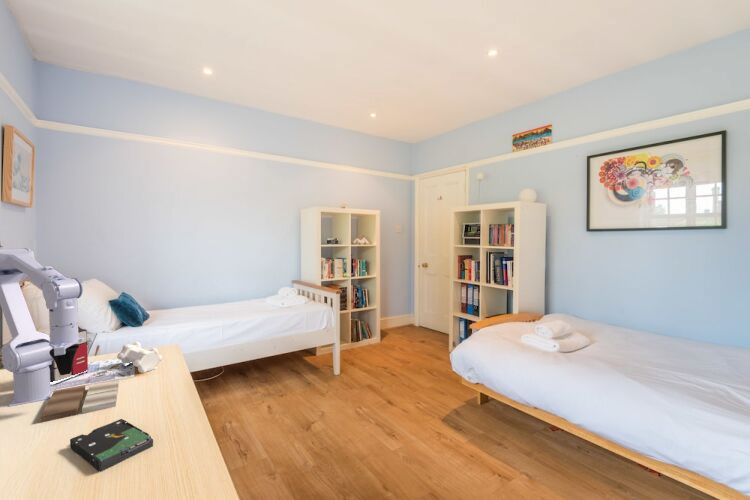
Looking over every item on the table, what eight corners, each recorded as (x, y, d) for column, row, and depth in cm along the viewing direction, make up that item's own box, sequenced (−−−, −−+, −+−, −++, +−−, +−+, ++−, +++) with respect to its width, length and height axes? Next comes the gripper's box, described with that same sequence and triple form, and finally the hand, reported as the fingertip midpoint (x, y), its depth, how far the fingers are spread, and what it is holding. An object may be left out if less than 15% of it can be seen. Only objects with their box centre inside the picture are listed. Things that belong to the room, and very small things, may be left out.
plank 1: (90, 389, 104) (89, 384, 104) (118, 384, 108) (118, 379, 108) (86, 400, 98) (86, 395, 98) (117, 394, 101) (117, 389, 101)
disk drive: (68, 451, 77) (100, 474, 69) (68, 439, 76) (99, 461, 69) (121, 429, 86) (154, 447, 78) (121, 417, 85) (154, 435, 78)
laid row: (54, 397, 100) (54, 391, 100) (85, 391, 104) (85, 385, 104) (40, 424, 86) (40, 416, 86) (76, 416, 90) (76, 409, 90)
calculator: (54, 387, 107) (52, 338, 106) (43, 385, 107) (41, 337, 107) (90, 373, 117) (88, 329, 117) (79, 371, 118) (78, 328, 117)
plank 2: (86, 401, 97) (86, 395, 97) (117, 395, 101) (117, 390, 101) (82, 413, 90) (82, 408, 90) (115, 406, 94) (115, 401, 94)
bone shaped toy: (162, 370, 122) (164, 347, 122) (135, 376, 114) (137, 351, 115) (141, 361, 130) (143, 339, 130) (114, 367, 122) (116, 343, 123)
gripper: (79, 328, 89) (81, 379, 90) (86, 316, 101) (88, 362, 102) (42, 332, 85) (44, 386, 86) (54, 319, 97) (55, 367, 98)
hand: (65, 373), depth 94 cm, fingers closed
